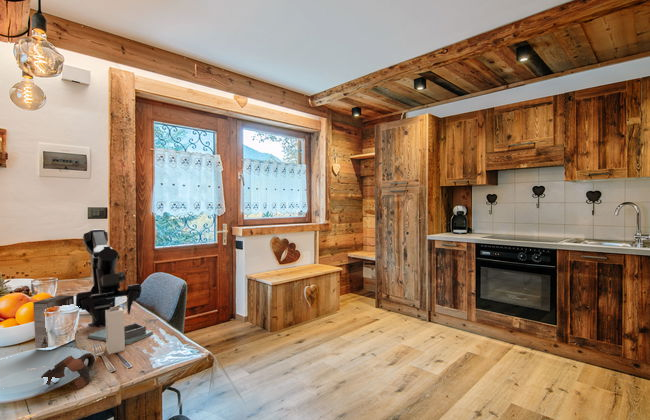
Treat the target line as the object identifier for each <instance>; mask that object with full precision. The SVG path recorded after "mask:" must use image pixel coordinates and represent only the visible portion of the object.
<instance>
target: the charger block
mask: <svg viewBox="0 0 650 420" xmlns="http://www.w3.org/2000/svg"><path fill="white" fill-rule="evenodd" d="M105 319H106V325H105V329H106V341H105V344H106V347H105V348H106V352H107V354H108V355H112V354H116V353H120V352H123V351H126V344H125V335H124V326H125V311H124V309H123V308H122V307H121V306H120V307H117V306H116V307H113V308H110V309H109V310H105Z"/></svg>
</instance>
